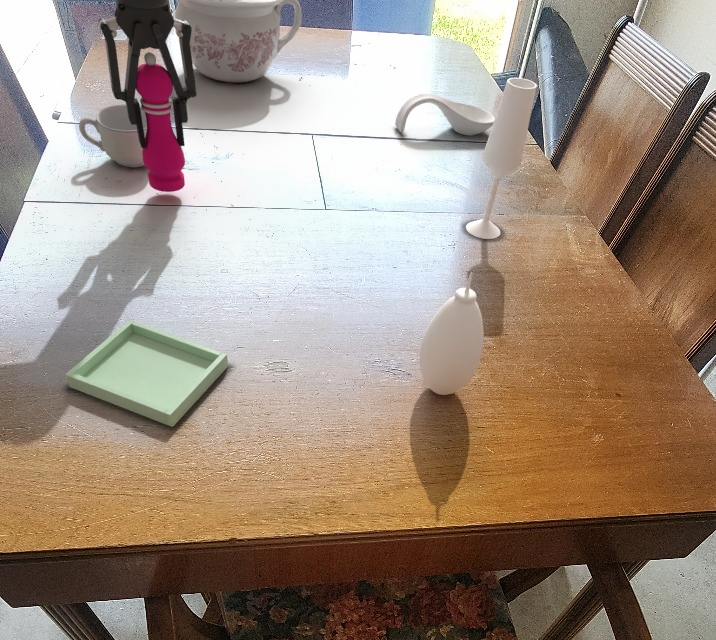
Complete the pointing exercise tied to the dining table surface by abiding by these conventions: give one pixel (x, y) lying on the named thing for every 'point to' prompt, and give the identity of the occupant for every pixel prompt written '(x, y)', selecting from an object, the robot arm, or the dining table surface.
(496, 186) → the champagne flute
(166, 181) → the pepper mill
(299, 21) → the chamber pot
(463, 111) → the spoon rest
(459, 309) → the sauce bottle
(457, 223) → the dining table surface
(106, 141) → the teacup
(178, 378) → the tray
